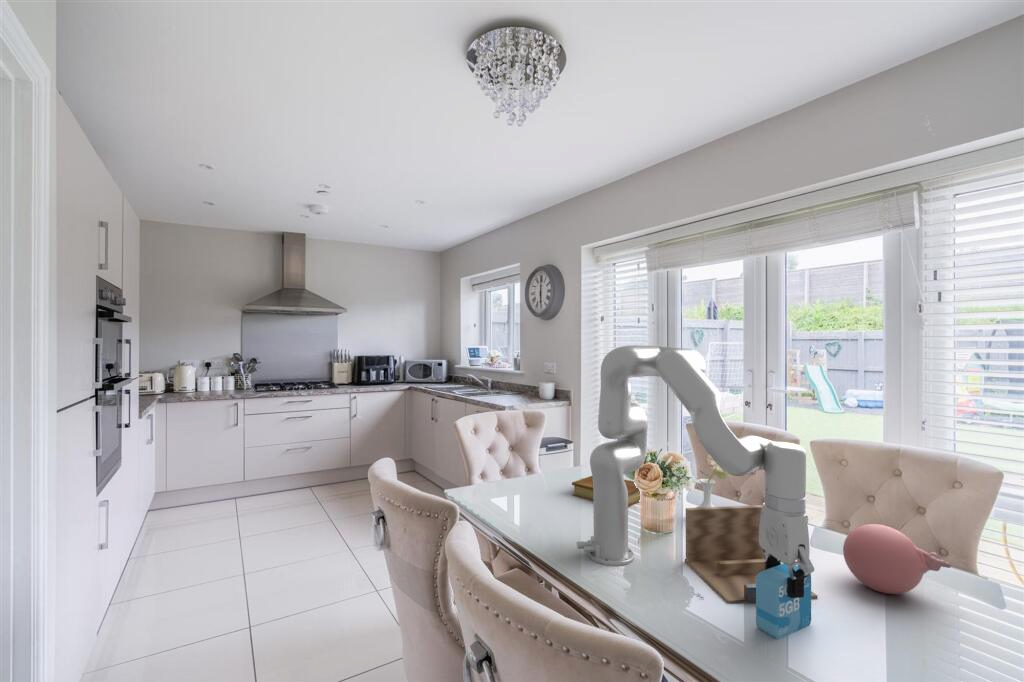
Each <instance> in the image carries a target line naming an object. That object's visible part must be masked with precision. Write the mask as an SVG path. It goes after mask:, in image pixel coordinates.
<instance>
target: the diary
mask: <svg viewBox="0 0 1024 682" xmlns="http://www.w3.org/2000/svg"><path fill="white" fill-rule="evenodd" d="M624 481H625V484H626V487H627V490H628V508H629V507H631V506H632V507H633V506H634V505H637V504H639V503H640V502H639V500H640V491H639V489H638V488H636V486H635V484H634V482H635V481H632V480H628V479H624ZM571 485H572V486H573V487H574V488H573V489H574V490H573V492H574V493H572V494H571V495H572V496H574V497H578V498H581V499H583V500H587V501H591V502H594V499H593V477H592V475H590V476H587V477H584V478H582V479H578V480H576V481H572V482H571Z"/></svg>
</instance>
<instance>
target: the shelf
mask: <svg viewBox="0 0 1024 682" xmlns="http://www.w3.org/2000/svg"><path fill="white" fill-rule="evenodd" d="M762 506H763V504H762V505H761V504H760V505H759V504H758V505H734V506H733V505H732V506H731V505H730V506H715V507H701V508H696V507H685V558H684V562H685V564H686V565H688V566H689V568H691V569H692V570H693V571H694V572H695V573H696V574H697V575H698V576H699V577H700V578H701V579H702V580H703V581H705V582H706V584H707V585H708V586H709V587H710V588H711V589H712V590H713V591H715V593H717V594H718V595H719V596H720V597H721V598H722V599H723V600H724V602H726V603H727V604H728V605H730V604H744V603H745V602H749V603H756V600H754V601H748V600H747V599H745V598H744V584H756V577H757V575H758V573H759V572H761V571H764V570H765V561H767V560H765V559H764V551H763V549H762V547H761V546H760V545H759V537H758V536H759V524H760V515H761V510H762ZM705 582H704V583H705ZM815 599H818V595H817V594H816V593H815V592H813V590H811V600H815Z"/></svg>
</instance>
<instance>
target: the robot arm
mask: <svg viewBox="0 0 1024 682" xmlns="http://www.w3.org/2000/svg"><path fill="white" fill-rule="evenodd" d="M600 365H601V366H600V372H599V373H600V390H599V391H600V393H599V402H598V403H599V406H598V417H597V428H598V432H599V433H600V435H601V436H602V437H604V438H605V439H609V440H613V441H609V442H605V443H602V444H600V445H598V446H596V447H595V448H594V449H593V450H592V452H591V454H590V457H589V466H590V471H591V476H592V477H593V499H594V501H593V535H592V536H591V535H590V539H588V540H587V541H576V549H577V550H583V552H585V553H587V555H588V557H589V558H590V559H591V561H594V562H595V561H596V563H598V564H600V563H602V564H601V565H604V564H607V565H606V566H609V565H613V566H612V567H618V566H620V567H621V566H626V565H629V564H631V563H632V562H633V561H634V559H635V552H634V551H633V550H632V549H631V548H629V507H628V490H627V487H626V484H625V481H624V480H625V478H624V476H625V475H627V474H630V473H634V472H636V471H637V470H640V469H641V468H642V466H643V465H644V463H645V459H646V454H647V453H646V452H647V441H648V439H647V438H648V426H649V423H648V422H649V421H648V417H647V413H646V411H645V410H644V408H643V407H642V406H641V405H639V404H638V403H636V402H632V401H631V400H632V386H631V383H630V381H629V379H630V378H638V377H640V378H641V377H660V378H661V380H662V381H663V382H664V383H665V384H666V385H667V387H668V388H669V389H670V390H671V392H672V393H673V394H674V396H675V397H676V398H677V399H678V400H679V402H680V403H681V404H682V405H683V407H684V408H685V409H686V411H687V412H688V413H689V414H690V418H691V423H692V426H693V429H694V432H695V435H696V437H697V439H698V441H699V443H700V444H701V446H702V447H703V449H704V450H705V451H706V452H707V455H708V454H709V455H710V456H711V457H712V459H713V460H714V461H715V462H716V463H717V465H718V466H719V467H720V468H722V469H723V470H724V473H726V474H729V475H731V476H734V477H735V476H736V477H743V476H747V475H749V474H752V473H753V472H756V471H762V470H764V490H763V491H764V494H763V495H764V498H763V500H764V502H763V503H762V510H761V515H760V524H759V536H758V537H759V545H760V546H761V547H762V549H763V551H764V559H765V560H767V561H765V570H767V569H770V568H772V567H775V566H778V565H781V564H786V565H788V570H789V574H790V577H788V586H787V595H788V597H790V598H802V597H804V579H806V578H807V576H809V574H811V575H812V573H813V572H815V567H814V565H813V563H812V562H811V559H810V535H809V527H808V524H807V519H806V515H807V514H806V513H807V512H806V507H807V505H806V504H807V503H806V502H807V501H806V500H807V498H806V494H807V493H806V492H807V491H806V489H807V452H806V449H805V448H804V447H803V446H801V445H799V444H796V443H792V442H786V441H774V440H770V439H767V438H763V437H761V436H757V435H743V436H741V437H737V436H736V435H735V433H734V432H733V431H732V430H731V429H730V428H729V426H728V425H727V423H726V422H725V421H724V418H723V417H722V414H721V411H720V403H721V398H722V396H721V395H722V394H721V392H720V391H719V389H718V388H717V387H716V386H715V385H714V384H713V383H712V381H710V379H709V378H708V377H707V376H706V375H705V371H706V369H707V367H706V362H705V359H704V357H703V355H702V354H700V352H699V351H697V350H696V349H692V348H681V347H679V348H678V347H677V348H676V347H669V346H661V345H660V346H659V345H633V344H632V345H623V346H619V347H616V348H613V349H611V350H610V351H609V352H608V353H607V354H606V355H605V356H604V357H603V359H602V362H601V364H600ZM615 439H617V440H615ZM794 565H796V566H798V570H797V571H795V569H794Z"/></svg>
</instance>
